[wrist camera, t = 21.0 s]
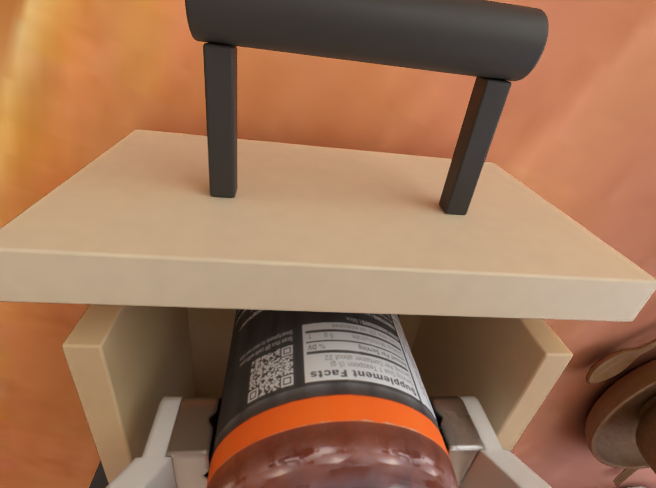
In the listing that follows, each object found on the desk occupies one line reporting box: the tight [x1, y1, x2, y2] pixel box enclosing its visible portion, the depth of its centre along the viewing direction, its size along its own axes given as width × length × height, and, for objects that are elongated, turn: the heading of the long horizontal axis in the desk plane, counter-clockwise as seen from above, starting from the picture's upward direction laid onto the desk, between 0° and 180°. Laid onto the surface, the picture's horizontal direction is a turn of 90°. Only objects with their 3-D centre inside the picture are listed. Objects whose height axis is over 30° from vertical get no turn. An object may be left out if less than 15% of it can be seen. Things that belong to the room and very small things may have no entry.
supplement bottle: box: [206, 309, 458, 488], centre depth 11 cm, size 6×6×11 cm
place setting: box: [585, 339, 656, 486], centre depth 25 cm, size 18×20×6 cm
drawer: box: [0, 0, 656, 488], centre depth 13 cm, size 18×13×8 cm
